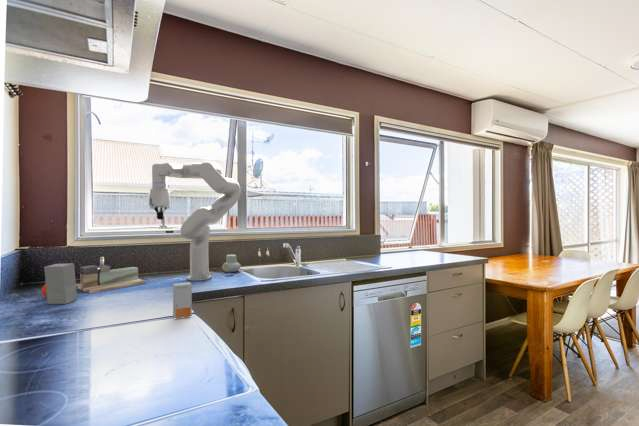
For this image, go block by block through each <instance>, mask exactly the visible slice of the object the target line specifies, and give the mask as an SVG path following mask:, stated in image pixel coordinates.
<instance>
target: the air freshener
mask: <svg viewBox="0 0 639 426" xmlns="http://www.w3.org/2000/svg"><path fill="white" fill-rule="evenodd" d="M225 257H226V258H225V260H226V262H224V263H223V264H222V265H221V268H222V270H223V271H224V272H225V273H229V274H230V273H236V272H238V271H239V270H241V268H242V267H241V264H240V262H238V260H237V255H236V254H226V256H225Z"/></svg>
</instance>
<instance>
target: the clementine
mask: <svg viewBox="0 0 639 426" xmlns="http://www.w3.org/2000/svg"><path fill="white" fill-rule="evenodd" d="M41 294H42V295H43V296H44V297H45V298H47V292H46V283H45V284H43V286H42V287H41Z"/></svg>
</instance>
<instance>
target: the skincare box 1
mask: <svg viewBox="0 0 639 426" xmlns="http://www.w3.org/2000/svg"><path fill="white" fill-rule="evenodd" d="M43 268H44V277H45V284H46V292H47V297H46V301H47V302H46V303H47V305H66V304H68V303H72V302H75V301H77V300H78V292H77V288H76V285H77V281H76V271H75V269H76V268H75V263H74V262H73V263H54V264H49V265H46V266H44V267H43Z"/></svg>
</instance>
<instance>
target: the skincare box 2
mask: <svg viewBox="0 0 639 426" xmlns="http://www.w3.org/2000/svg"><path fill="white" fill-rule="evenodd" d="M192 285H193V284H192V283H191V282H190V281H187V282H177V283H173V284H172V317H174V318H182V317H190V316H192V315H193V313H192V307H193V306H192V305H193V304H192V300H193V298H192V297H193V295H192V294H193V291H192V290H193V289H192V287H193V286H192ZM192 317H193V316H192ZM174 318H173V319H174ZM182 319H183V318H182Z"/></svg>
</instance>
